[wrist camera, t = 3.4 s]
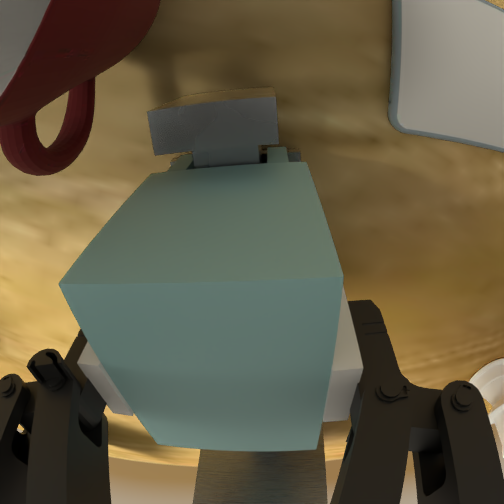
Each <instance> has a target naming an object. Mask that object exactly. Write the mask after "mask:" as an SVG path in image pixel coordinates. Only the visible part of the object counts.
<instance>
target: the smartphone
mask: <svg viewBox="0 0 504 504" xmlns="http://www.w3.org/2000/svg"><path fill="white" fill-rule="evenodd" d="M388 118H389V121H390V123H391V125H392V126H393V127H394V128H395V129H396V130H398V131H400V132H402V133H406V134H413V135H419V136H426V137H430V138H436V139H442V140H447V141H453V142H459V143H463V144H468V145H473V146H477V147H482V148H486V149H491V150H496V151H500V152H504V9H502V8H500V7H498V6H496V5H494V4H491V3H489V2H487V1H485V0H392V57H391V78H390V93H389V106H388Z"/></svg>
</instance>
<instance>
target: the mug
mask: <svg viewBox="0 0 504 504" xmlns="http://www.w3.org/2000/svg"><path fill="white" fill-rule="evenodd" d="M159 5H160V0H0V143H1V147H2V150H3V153H4V155H5V156H6V158H7V160H8V161H9V162H10V163H11V164H12V165H13V166H14V167H16V168H17V169H19V170H21V171H22V172H24V173H27V174H31V175H36V176H41V175H51V174H54V173H57V172H59V171H61V170H63V169H65V168H66V167H68V166H69V165H70V164H71V163H72V162H73V161H74V160H75V159H76V158H77V157H78V155H79V154H80V153H81V151H82V150H83V148H84V146H85V144H86V142H87V140H88V137H89V134H90V131H91V128H92V123H93V116H94V105H95V77H96V76H97V75H99V74H100V73H102V72H104V71H105V70H107V69H109V68H110V67H112V66H114V65H115V64H116V63H118V62H119V61H121V60H122V59H123V58H124V57H126V56H127V55H128V54H129V53H130V52H131V51H132V50H133V49H134V48H135V47H136V46H137V45H138V44H139V43H140V42H141V40H142V39H143V38H144V36H145V35H146V33H147V32H148V30H149V29H150V27H151V25H152V23H153V21H154V19H155V17H156V14H157V11H158V8H159ZM67 91H69V97H68V104H67V109H66V114H65V118H64V122H63V125H62V128H61V130H60V133H59V135H58V137H57V138H56V140H55V141H54V142H53V143H52V144H51V145H50V146H49V147H48V148H45V147H44V146H43V145H42V144H41V142H40V141H39V138H38V136H37V132H36V125H35V115H36V113H37V112H38V111H39V110H40V109H41V108H43V107H44V106H46V105H47V104H49V103H50V102H52V101H53V100H55V99H56V98H58V97H59V96H61V95H62V94H64V93H66V92H67Z"/></svg>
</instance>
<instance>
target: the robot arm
mask: <svg viewBox="0 0 504 504" xmlns="http://www.w3.org/2000/svg"><path fill="white" fill-rule="evenodd" d="M27 368H28V369H29V371H30V372H31V373H32V375H33V376H34V377H35V378H36V380H37V381H35V382H28V383H24V381H23V380H22V379H21V378H20V376H18V375H16V374H8V375H6V376H4V377H3V378H2V379H1V380H0V504H111V495H110V482H109V462H108V421H107V417H106V416H105V414H104V413H103V412H104V409H105V407H106V404H107V406H108V407H109V408H110V410H111V411H112V412H113V413H117V414H123V415H129V416H133V413H134V412H133V410H132V409H131V408H130V406H129V405H128V403H127V402H126V400H125V399H124V397H123V396H122V395H121V393H120V392H119V390H118V389H117V387H116V386H115V384H114V383H113V381H112V379H111V378H110V376H109V375H108V373H107V372H106V370H105V368H104V367H103V365H102V364H101V362H100V361H99V359H98V357H97V356H96V354H95V352H94V351H93V349H92V347H91V345H90V344H89V342H88V340H87V338H86V337H85V335H84V333H83V331H82V329H80V331H79V333H78V337H76V339H75V340H74V342H73V344H72V346H71V348H70V350H69V352H68V354H67V356H66V358H65V359H64V360H63V358H62V357H61V355H60V354H59V352H58V351H56V350H54V349H45V350H41V351H39V352H38V353H36V354H35V355H34V356H33V357H32V358H31V359H30V360H29V362H28V365H27ZM349 414H350V416H351V423H352V427H351V429H350V432H349V435H348V437H347V440H346V442H347V445H346V449H345V453H344V457H343V461H342V465H341V468H340V472H339V476H338V479H337V483H336V486H335V490H334V493H333V496H332V500H331V503H330V504H399V503H400V499H401V493H402V488H403V482H404V476H405V470H406V464H407V457H408V451H412V453H413V460H414V469H415V478H416V488H417V499H418V504H504V479H503V473H502V469H501V463H500V459H499V455H498V451H497V447H496V442H495V438H494V435H493V431H492V427H491V424H490V420H489V417H488V413H487V410H486V407H485V404H484V400H483V397H482V395H481V393H480V391H479V389H478V388H477V387H475V386H474V385H473V384H472V383H469V382H467V381H458V380H457V381H454V382H451V383H449V384H448V385H447V386H446V387H445V388H444V389H443V390H437V389H429V388H422V387H418V386H416V385H414V384H412V383H410V382H409V380H408V379H407V378H405V377H404V376H403V375H402V374H401V372H400V370H399V367H398V364H397V361H396V357H395V354H394V351H393V348H392V345H391V341H390V338H389V335H388V334H387V329H386V326H385V324H384V320H383V318H382V315H381V312H380V309H379V308H378V307H377V306H376V305H375V304H374V303H373V302H372V301H371V300H359V301H347V298H346V294H345V291H344V287H343V289H342V298H341V307H340V315H339V323H338V330H337V338H336V345H335V351H334V358H333V364H332V368H331V374H330V380H329V386H328V392H327V397H326V403H325V408H324V414H323V422H332V421H342V420H348V417H349ZM19 424H20V425H21V426H22V427H23V428H24V430H23V432H22V433H19V432H18V431H17V428H18V425H19Z"/></svg>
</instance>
